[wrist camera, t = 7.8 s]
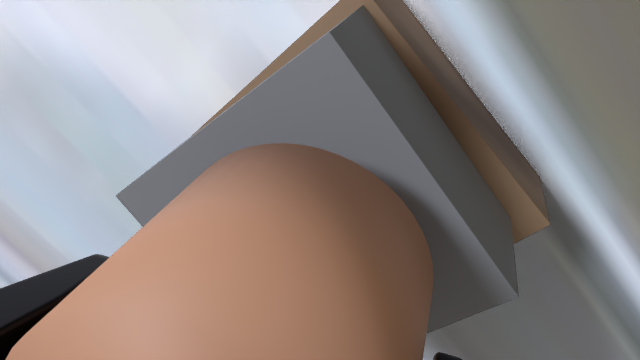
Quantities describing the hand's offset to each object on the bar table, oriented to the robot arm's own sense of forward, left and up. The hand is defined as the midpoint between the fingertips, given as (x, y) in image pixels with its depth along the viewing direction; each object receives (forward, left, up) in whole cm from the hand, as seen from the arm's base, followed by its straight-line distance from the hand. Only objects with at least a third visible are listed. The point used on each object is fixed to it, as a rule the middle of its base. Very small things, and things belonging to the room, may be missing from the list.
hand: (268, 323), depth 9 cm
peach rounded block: (0, 0, -2) cm, 2 cm away
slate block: (0, 0, -5) cm, 5 cm away
